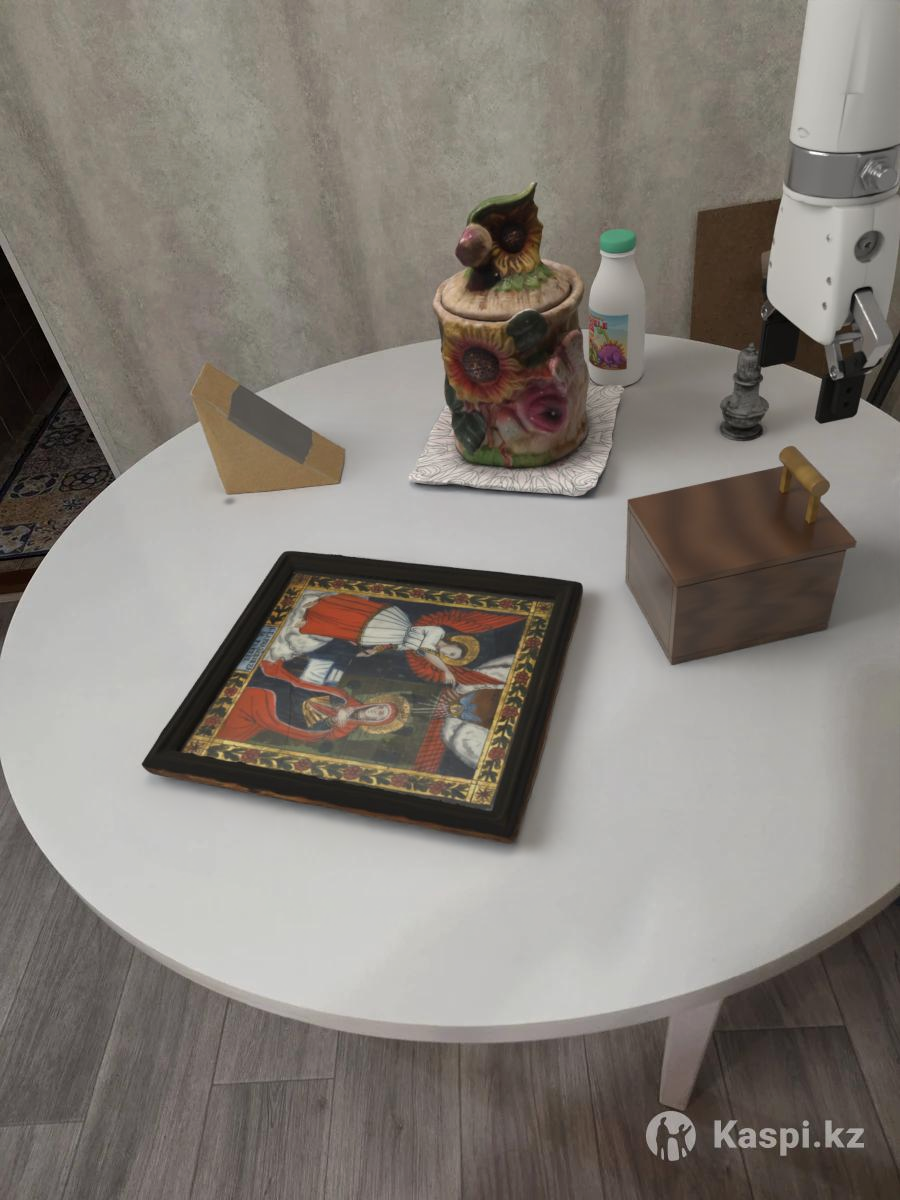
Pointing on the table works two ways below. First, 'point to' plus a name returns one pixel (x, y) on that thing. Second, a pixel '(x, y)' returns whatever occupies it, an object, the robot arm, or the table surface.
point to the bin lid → (742, 522)
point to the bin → (729, 601)
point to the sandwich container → (260, 439)
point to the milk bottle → (617, 313)
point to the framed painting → (381, 692)
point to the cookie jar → (515, 365)
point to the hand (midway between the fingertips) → (804, 389)
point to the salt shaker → (744, 399)
